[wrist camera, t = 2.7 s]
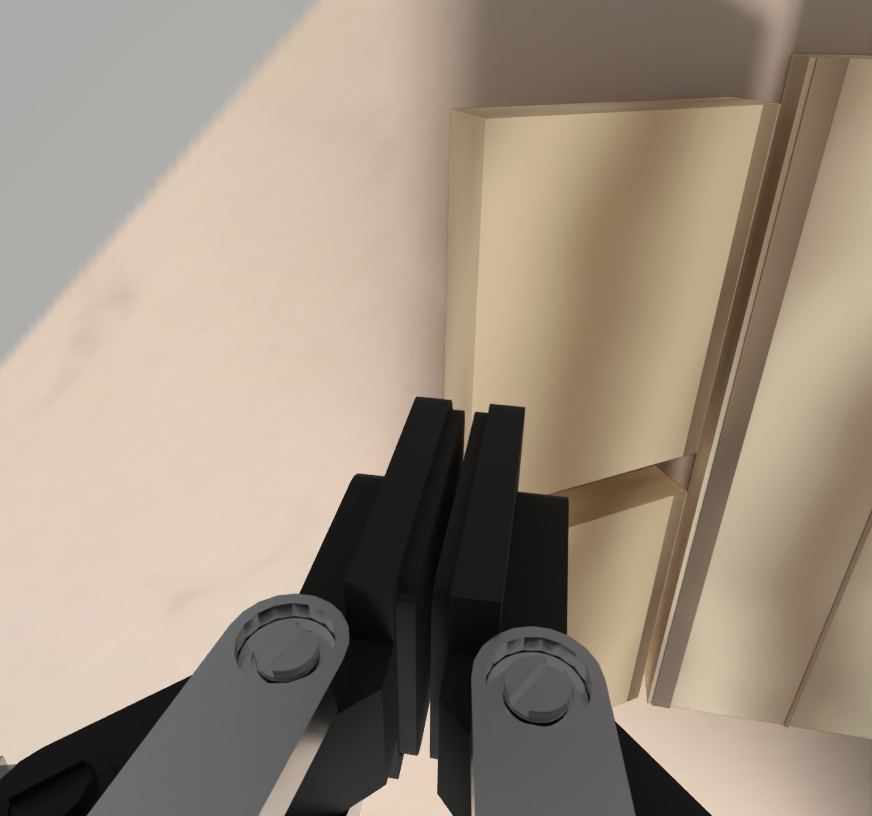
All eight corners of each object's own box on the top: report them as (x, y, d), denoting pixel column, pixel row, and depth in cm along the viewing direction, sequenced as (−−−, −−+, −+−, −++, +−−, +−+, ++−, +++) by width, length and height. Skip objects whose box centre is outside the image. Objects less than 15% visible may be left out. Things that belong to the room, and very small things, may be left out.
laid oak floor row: (1249, 65, 16) (1314, 70, 15) (904, 710, 28) (921, 748, 26) (792, 53, 18) (810, 57, 16) (644, 670, 29) (647, 704, 28)
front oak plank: (730, 96, 18) (781, 103, 17) (662, 427, 23) (697, 452, 22) (450, 109, 15) (485, 118, 14) (442, 484, 20) (467, 518, 19)
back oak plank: (654, 465, 24) (687, 491, 22) (613, 665, 29) (638, 696, 27) (441, 525, 21) (465, 559, 20) (436, 737, 26) (455, 775, 25)
